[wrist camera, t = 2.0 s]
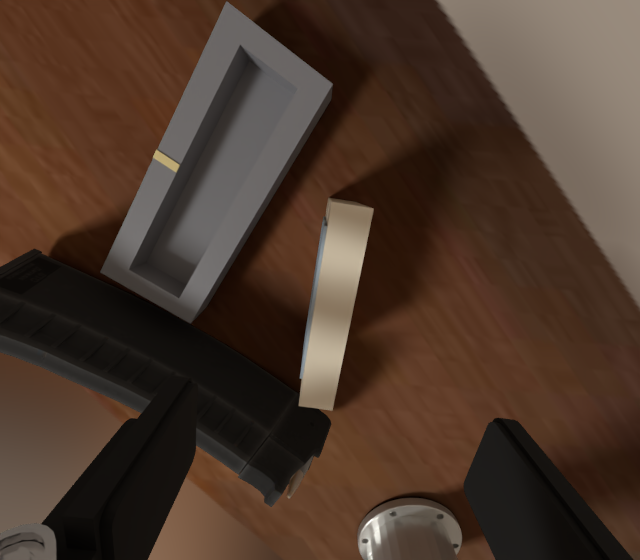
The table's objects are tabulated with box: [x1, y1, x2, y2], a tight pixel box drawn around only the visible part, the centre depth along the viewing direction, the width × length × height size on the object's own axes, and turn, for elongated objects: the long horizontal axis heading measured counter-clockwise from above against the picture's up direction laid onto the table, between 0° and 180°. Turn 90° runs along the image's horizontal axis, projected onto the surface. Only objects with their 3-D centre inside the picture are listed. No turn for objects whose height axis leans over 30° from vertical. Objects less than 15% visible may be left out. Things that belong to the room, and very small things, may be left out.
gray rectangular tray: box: [100, 1, 333, 324], centre depth 23 cm, size 21×8×4 cm, turn 146°
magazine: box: [0, 249, 331, 507], centre depth 24 cm, size 17×3×30 cm
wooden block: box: [299, 198, 374, 410], centre depth 23 cm, size 14×3×9 cm, turn 171°
